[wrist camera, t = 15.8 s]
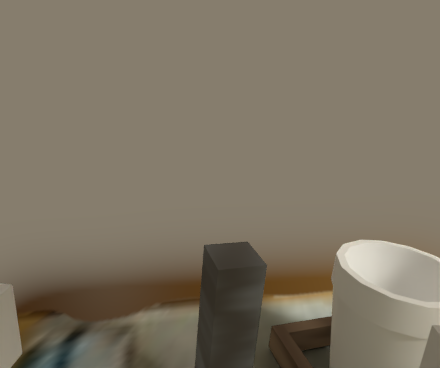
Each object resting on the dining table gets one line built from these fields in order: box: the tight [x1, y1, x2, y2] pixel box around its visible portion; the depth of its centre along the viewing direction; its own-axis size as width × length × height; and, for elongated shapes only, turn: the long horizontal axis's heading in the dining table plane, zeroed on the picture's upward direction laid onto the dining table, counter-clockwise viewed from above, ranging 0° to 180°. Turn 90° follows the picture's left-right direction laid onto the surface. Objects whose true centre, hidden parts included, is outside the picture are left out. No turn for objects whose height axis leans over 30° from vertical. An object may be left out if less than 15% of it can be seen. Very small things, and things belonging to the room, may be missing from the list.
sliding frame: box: [195, 242, 332, 368], centre depth 27 cm, size 24×14×15 cm, turn 108°
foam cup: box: [329, 240, 440, 368], centre depth 28 cm, size 10×9×13 cm
